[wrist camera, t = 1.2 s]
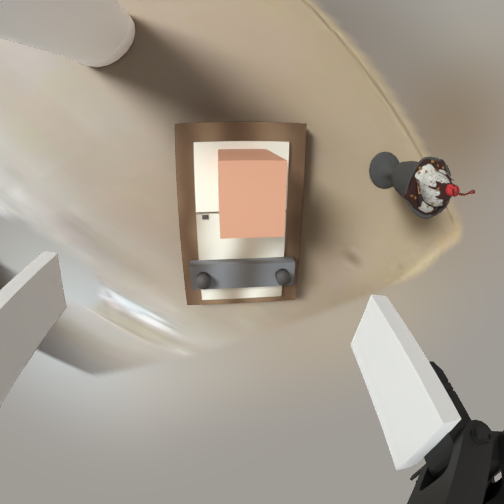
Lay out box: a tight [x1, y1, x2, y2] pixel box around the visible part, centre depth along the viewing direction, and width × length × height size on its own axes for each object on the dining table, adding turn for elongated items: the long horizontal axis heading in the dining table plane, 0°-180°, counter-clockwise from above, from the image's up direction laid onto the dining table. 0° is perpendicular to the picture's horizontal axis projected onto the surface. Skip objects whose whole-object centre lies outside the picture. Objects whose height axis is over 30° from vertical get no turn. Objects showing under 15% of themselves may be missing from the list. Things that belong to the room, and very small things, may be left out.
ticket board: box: [175, 122, 306, 305], centre depth 34 cm, size 14×22×6 cm, turn 0°
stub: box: [194, 141, 289, 239], centre depth 27 cm, size 10×8×10 cm
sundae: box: [369, 152, 475, 218], centre depth 29 cm, size 7×7×15 cm
